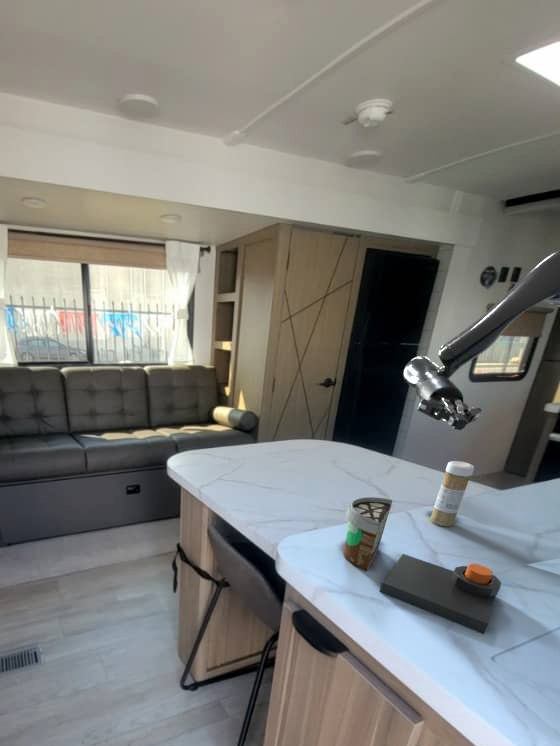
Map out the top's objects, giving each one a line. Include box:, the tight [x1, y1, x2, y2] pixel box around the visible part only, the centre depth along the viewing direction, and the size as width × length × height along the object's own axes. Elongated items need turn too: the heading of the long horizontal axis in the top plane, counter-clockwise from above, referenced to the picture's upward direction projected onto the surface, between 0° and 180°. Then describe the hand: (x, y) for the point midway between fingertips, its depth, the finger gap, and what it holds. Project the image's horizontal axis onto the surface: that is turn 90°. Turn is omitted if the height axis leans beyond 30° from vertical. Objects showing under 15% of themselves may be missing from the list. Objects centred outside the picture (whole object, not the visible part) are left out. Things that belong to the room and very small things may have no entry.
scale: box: [378, 553, 502, 635], centre depth 64 cm, size 14×12×4 cm
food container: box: [343, 496, 393, 572], centre depth 73 cm, size 12×6×10 cm, turn 145°
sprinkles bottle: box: [429, 460, 475, 527], centre depth 85 cm, size 5×5×13 cm
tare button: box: [465, 563, 494, 584], centre depth 63 cm, size 3×3×2 cm
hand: (460, 425), depth 82 cm, fingers closed
